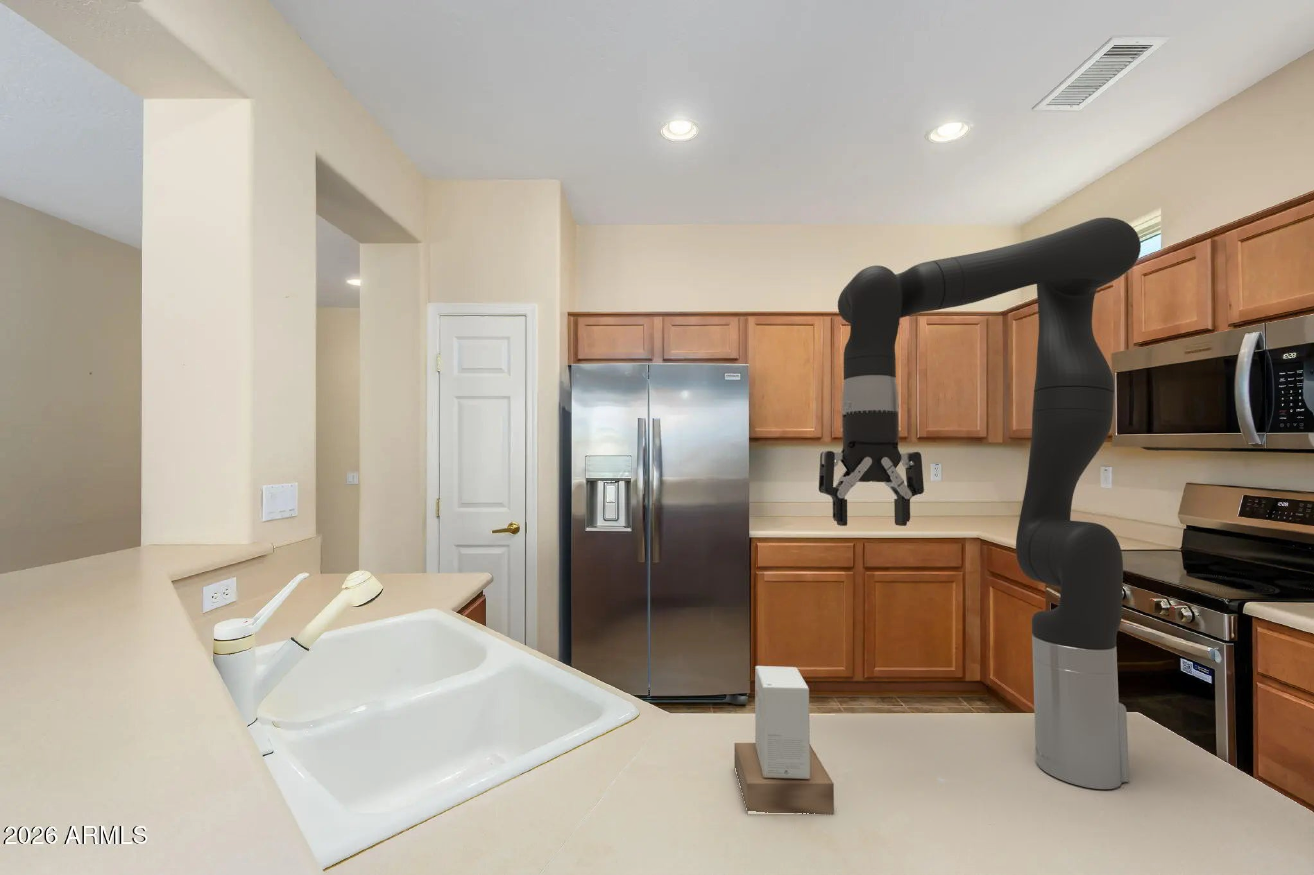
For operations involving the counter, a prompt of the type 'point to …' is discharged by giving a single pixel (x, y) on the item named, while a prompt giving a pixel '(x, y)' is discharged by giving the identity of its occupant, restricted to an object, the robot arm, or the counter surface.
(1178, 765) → the counter surface
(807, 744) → the small box
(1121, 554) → the robot arm
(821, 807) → the walnut block
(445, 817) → the counter surface
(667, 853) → the counter surface
